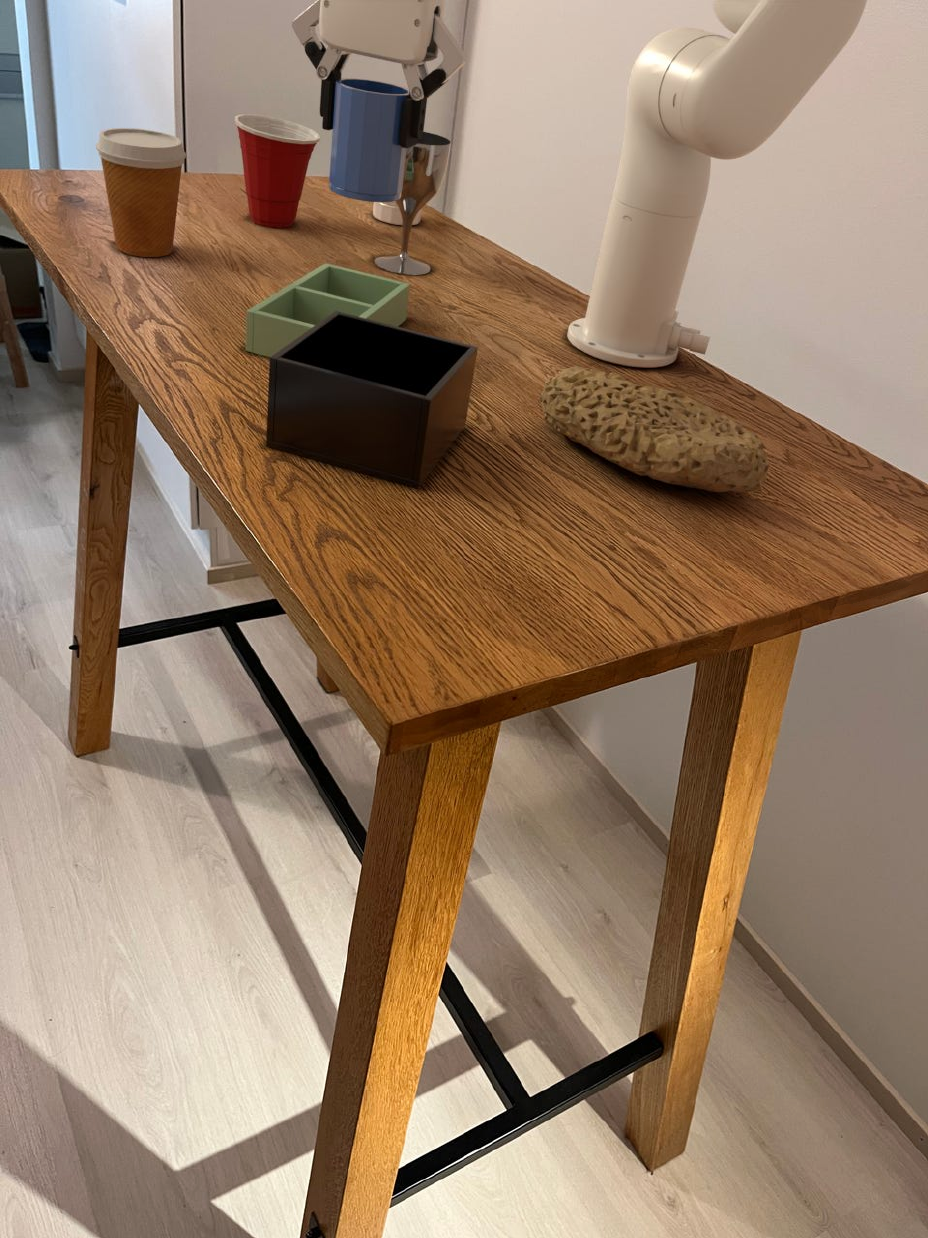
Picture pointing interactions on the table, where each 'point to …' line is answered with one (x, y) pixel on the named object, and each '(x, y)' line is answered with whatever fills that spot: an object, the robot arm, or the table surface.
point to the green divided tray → (323, 305)
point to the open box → (369, 397)
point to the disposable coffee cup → (142, 188)
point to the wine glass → (418, 195)
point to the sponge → (654, 431)
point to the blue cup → (367, 140)
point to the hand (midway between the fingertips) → (370, 134)
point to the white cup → (391, 213)
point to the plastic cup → (274, 166)
